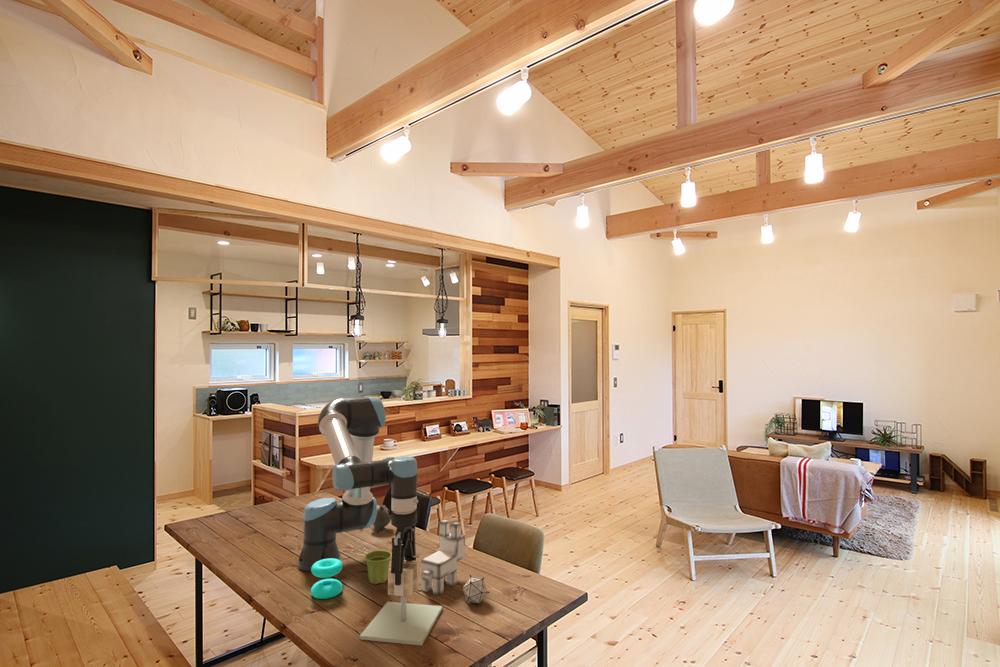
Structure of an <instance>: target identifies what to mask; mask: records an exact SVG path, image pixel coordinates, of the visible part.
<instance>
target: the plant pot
mask: <svg viewBox="0 0 1000 667" xmlns="http://www.w3.org/2000/svg"><path fill="white" fill-rule="evenodd" d="M364 559H365V561H366V565H367V566H366V567H367V574H368V581H369V583H370V584H373V585H378V584H384V583H386V581H388V569H389V568H390V567H389V566H390V562H391V560H392V551H391V552H390V551H389V550H383V549H382V550H374V551H370V552H368V553H366V554H365V555H364Z"/></svg>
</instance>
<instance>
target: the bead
mask: <svg viewBox="0 0 1000 667" xmlns="http://www.w3.org/2000/svg"><path fill="white" fill-rule="evenodd" d="M403 572H404V596H406V597H412V596H413V595H414V593H415V591H416V590H417V589H418V588H419V586H420V576H419V575H420V562H419V561H412V562H411V561H406V560H404V564H403ZM387 595H388V596H390V595H391V596H394V574H391V566H390V567H389V568H388V575H387Z"/></svg>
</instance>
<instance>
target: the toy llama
mask: <svg viewBox="0 0 1000 667" xmlns="http://www.w3.org/2000/svg"><path fill="white" fill-rule="evenodd" d="M465 557H466V535H463V534H462V523H461V522H456V521H454V522H452V523H450V520H446V519H443V520H440V521H439V550H438V551H435V552H434V553H432V554H429V555H428V556H426V557H424V558H423V559H421V561H420V562H421V565H420V566H421V569H420V571H421V572H420V574H421V576H420V578H421V579H420V582H421V583H420V584H421V585H420V586H421V588H420V590H421V591H423V592H426V593H427V592H429V591H431V590H432V594H433V595H437V596H441V595H443V594H444V593H445V592H444V583H445V582H446V586H449V587H451V588H452V587H454V586H456V585H457V584H458V582H457V578H458V576H457V574H458V572H457V570H458V568H457V567H458V565H457V564H458V563H457V562H459V561H460V560H462V559H464V558H465Z"/></svg>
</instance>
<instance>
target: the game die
mask: <svg viewBox="0 0 1000 667" xmlns="http://www.w3.org/2000/svg"><path fill="white" fill-rule="evenodd" d="M484 580H485V577H482V578H478V577H475V576H474V577H473V576H472V575H471V574H469V578H468V580H467V581H466V582H465V584H464V585H463V586H461V587H459V589H460V590H462V592H463V594H464V597H465V600H466V601H465V604H467V603H468V602H469V603H473V604H478V606H479V607H481V603H482V600H483V599H484V597H486V595H487V594H490V593H491V592H490V591H489V590H487V587H486V584H485V582H484Z"/></svg>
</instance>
